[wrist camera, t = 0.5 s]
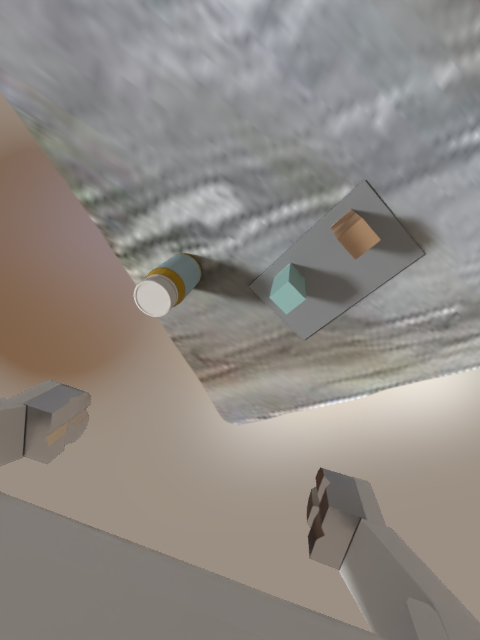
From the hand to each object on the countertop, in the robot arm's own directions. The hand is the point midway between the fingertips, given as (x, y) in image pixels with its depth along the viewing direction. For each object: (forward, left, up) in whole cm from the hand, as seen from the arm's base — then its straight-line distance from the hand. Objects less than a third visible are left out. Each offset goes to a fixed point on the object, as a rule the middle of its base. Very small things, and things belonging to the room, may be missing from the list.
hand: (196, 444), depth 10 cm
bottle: (+19, -7, -47) cm, 51 cm away
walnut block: (-8, +8, -46) cm, 47 cm away
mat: (-1, +12, -46) cm, 48 cm away
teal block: (+5, +8, -46) cm, 47 cm away
